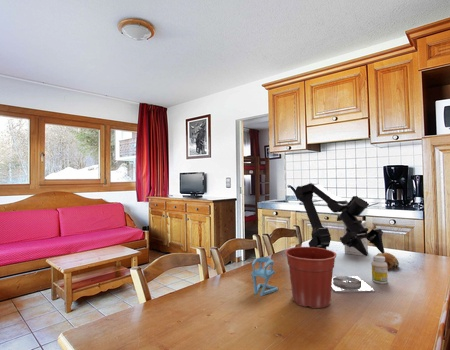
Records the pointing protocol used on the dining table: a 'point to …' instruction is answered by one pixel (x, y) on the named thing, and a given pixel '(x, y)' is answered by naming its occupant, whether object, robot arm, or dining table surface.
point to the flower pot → (311, 275)
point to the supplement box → (351, 249)
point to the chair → (263, 276)
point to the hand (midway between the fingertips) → (375, 254)
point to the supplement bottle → (379, 270)
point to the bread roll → (390, 260)
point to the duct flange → (350, 284)
